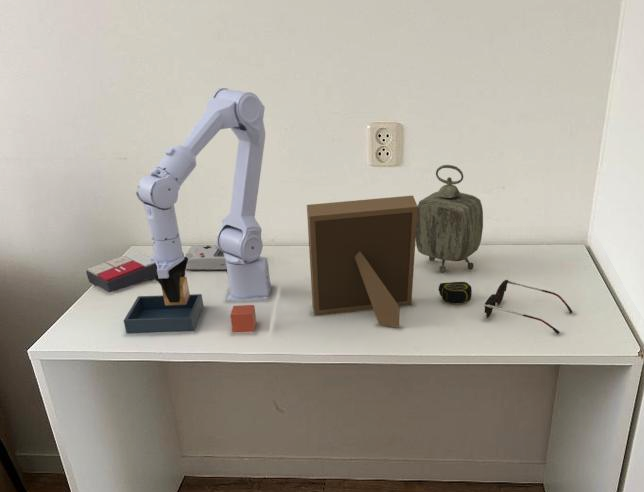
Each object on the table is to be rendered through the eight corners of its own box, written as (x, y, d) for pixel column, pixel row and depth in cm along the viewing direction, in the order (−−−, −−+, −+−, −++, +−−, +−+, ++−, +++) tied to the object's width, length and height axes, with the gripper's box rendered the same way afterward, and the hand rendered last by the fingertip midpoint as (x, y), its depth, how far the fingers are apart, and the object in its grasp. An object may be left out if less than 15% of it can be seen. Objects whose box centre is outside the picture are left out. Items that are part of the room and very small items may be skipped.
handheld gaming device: (194, 258, 193) (191, 244, 191) (248, 258, 191) (246, 244, 189) (184, 272, 186) (181, 257, 183) (241, 272, 184) (238, 257, 182)
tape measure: (467, 294, 168) (468, 278, 166) (473, 306, 163) (474, 290, 161) (438, 295, 168) (438, 280, 166) (443, 308, 162) (443, 292, 160)
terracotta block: (256, 323, 159) (254, 304, 157) (254, 333, 155) (251, 314, 153) (236, 324, 159) (233, 305, 157) (233, 334, 155) (230, 314, 153)
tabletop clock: (480, 268, 181) (486, 164, 167) (464, 281, 174) (469, 174, 160) (428, 258, 187) (430, 157, 173) (411, 270, 181) (411, 166, 167)
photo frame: (312, 307, 165) (303, 196, 151) (407, 297, 168) (406, 187, 154) (320, 337, 153) (311, 219, 139) (422, 325, 156) (423, 209, 142)
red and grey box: (84, 268, 180) (138, 248, 188) (89, 284, 182) (142, 264, 190) (105, 280, 173) (160, 258, 181) (110, 296, 175) (164, 274, 183)
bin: (204, 308, 167) (201, 293, 165) (194, 333, 157) (191, 318, 155) (141, 310, 167) (137, 296, 165) (126, 335, 157) (123, 320, 155)
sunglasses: (503, 298, 166) (505, 277, 163) (573, 314, 160) (577, 293, 157) (481, 323, 156) (484, 301, 153) (556, 341, 150) (560, 319, 147)
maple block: (190, 295, 161) (186, 276, 158) (186, 304, 157) (182, 285, 155) (169, 296, 161) (165, 277, 158) (165, 305, 157) (161, 286, 155)
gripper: (154, 224, 157) (165, 283, 165) (137, 249, 145) (150, 311, 153) (186, 223, 157) (197, 282, 164) (172, 248, 145) (184, 310, 152)
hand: (177, 296), depth 159 cm, fingers closed on maple block, 4 cm apart
